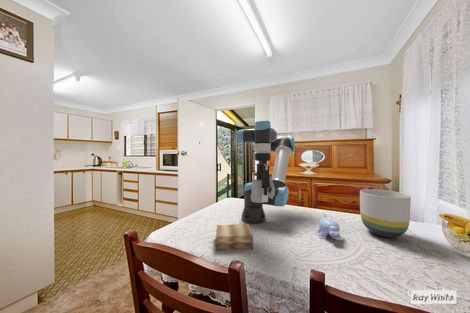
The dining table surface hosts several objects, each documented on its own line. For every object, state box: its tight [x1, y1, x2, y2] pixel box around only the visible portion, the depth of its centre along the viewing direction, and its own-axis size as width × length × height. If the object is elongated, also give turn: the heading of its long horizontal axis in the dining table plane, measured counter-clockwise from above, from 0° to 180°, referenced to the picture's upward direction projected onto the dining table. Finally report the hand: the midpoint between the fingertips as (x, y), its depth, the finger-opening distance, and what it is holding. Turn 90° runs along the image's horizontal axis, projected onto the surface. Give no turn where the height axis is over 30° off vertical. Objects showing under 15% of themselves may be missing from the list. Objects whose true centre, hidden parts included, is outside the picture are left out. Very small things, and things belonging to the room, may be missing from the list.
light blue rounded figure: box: [315, 213, 344, 241], centre depth 85 cm, size 11×15×10 cm
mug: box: [251, 176, 275, 203], centre depth 84 cm, size 8×12×12 cm, turn 84°
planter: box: [359, 188, 412, 239], centre depth 88 cm, size 20×20×21 cm
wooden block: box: [215, 223, 254, 252], centre depth 81 cm, size 16×12×6 cm
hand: (262, 199), depth 84 cm, fingers closed on mug, 7 cm apart
